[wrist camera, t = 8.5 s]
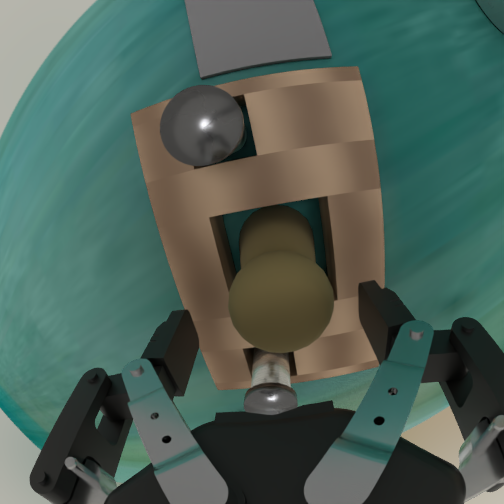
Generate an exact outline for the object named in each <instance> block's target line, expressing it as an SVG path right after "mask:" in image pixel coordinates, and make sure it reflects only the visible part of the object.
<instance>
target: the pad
mask: <svg viewBox="0 0 504 504" xmlns="http://www.w3.org/2000/svg"><path fill="white" fill-rule="evenodd" d="M185 4H186V9H187V14H188V19H189V24H190V29H191V34H192V39H193V44H194V49H195V54H196V59H197V63H198V68H199V73H200V78H201V79H205V78H209V77H213V76H217V75H221V74H225V73H229V72H233V71H238V70H243V69H248V68H253V67H258V66H264V65H270V64H277V63H284V62H292V61H301V60H311V59H324V58H331V56H332V54H331V51H330V48H329V44H328V41H327V38H326V35H325V32H324V29H323V26H322V23H321V20H320V17H319V14H318V12H317V9H316V6H315V4H314V1H313V0H185Z"/></svg>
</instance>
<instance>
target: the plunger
mask: <svg viewBox="0 0 504 504" xmlns="http://www.w3.org/2000/svg"><path fill="white" fill-rule="evenodd" d="M160 135H161V139H162V142H163V145H164V147H165V148H166V150H167V151H168V152H169V154H170V155H171V156H173V157H174V158H175V159H176V160H178V161H180V162H182V163H184V164H187V165H192V166H205V165H210V164H213V163H217V162H219V161H221V160H223V159H225V158H226V157H228V156H229V155H230V154H232V153H235V152H237V151H238V150H240V149H241V148H242V147H243V145H244V144H245V142H246V139H247V129H246V126H245V124H244V118H243V114H242V111H241V109H240V107H239V105H238V104H237V102H236V101H235V100H234V98H233V97H232V96H231V95H230V94H228V93H227V92H226V91H224V90H222V89H220V88H218V87H215V86H210V85H198V86H193V87H190V88H187V89H185V90H183V91H181V92H180V93H178V94H177V95H175V96H174V97H173V98H172V99H171V100H170V101H169V103H168V104H167V106H166V107H165V109H164V111H163V114H162V117H161V121H160Z"/></svg>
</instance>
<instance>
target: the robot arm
mask: <svg viewBox="0 0 504 504" xmlns="http://www.w3.org/2000/svg"><path fill="white" fill-rule="evenodd" d="M476 1H477V2H478V4H479V5H480V7H481V8H482V10H483V11H484V13H485V14H486V15H487V17H488V18H489V19H490V20H491V21H492V22H493V24H494V25H495V26H496V27H497V28H498V29H499V30H500V31H501V32H503V33H504V0H476ZM358 311H359V319H360V323H361V325H362V327H363V329H364V332H365V334H366V336H367V338H368V340H369V342H370V344H371V346H372V349H373V351H374V353H375V355H376V357H377V360H378V362H379V364H380V367H379V369H378V371H377V373H376V375H375V377H374V379H373V381H372V383H371V385H370V387H369V389H368V391H367V393H366V395H365V397H364V398H363V400H362V402H361V404H360V405H359V407H358V409H357V411H352V410H348V409H341V408H334V406H333V401H332V400H331V401H326V402H321V403H315V404H309V405H303V406H300V407H297V408H294V409H291V410H288V411H285V412H282V413H279V414H275V415H266V414H258V413H250V412H223V413H216V416H215V421H211V422H208V423H205V424H203V425H201V426H199V427H197V428H195V429H193V430H192V431H191V430H190V428H189V427H188V425H187V423H186V422H185V420H184V419H183V417H182V415H181V414H180V412H179V411H178V409H177V407H176V406H175V404H174V402H173V398H174V396H184V394H185V391H186V387H187V384H188V381H189V377H190V374H191V371H192V368H193V365H194V361H195V358H196V355H197V352H198V349H199V337H198V333H197V331H196V328H195V325H194V323H193V320H192V317H191V314H190V312H189V311H188V310H187V309H186V310H177V311H172V312H171V314H170V316H169V318H168V320H167V321H166V322H163V323H162V324H161V325H160V326H159V327H158V328H157V329H156V331H155V333H154V334H153V336H152V338H151V340H150V342H149V343H148V345H147V347H146V349H145V351H144V353H143V354H142V356H141V358H140V359H136V360H133V361H131V362H129V363H128V364H127V365H126V366H125V367H124V368H123V370H122V373H121V374H116V375H111V376H108V375H107V373H106V372H105V370H104V369H102V368H94V369H91V370H89V371H87V372H86V373H85V374H84V375H83V376H82V377H81V379H80V381H79V382H78V384H77V386H76V388H75V389H74V391H73V393H72V394H71V396H70V398H69V400H68V401H67V403H66V405H65V407H64V408H63V410H62V412H61V414H60V416H59V417H58V419H57V421H56V423H55V425H54V427H53V429H52V431H51V433H50V434H49V436H48V438H47V440H46V442H45V444H44V446H43V448H42V450H41V453H40V455H39V457H38V459H37V461H36V463H35V465H34V468H33V470H32V472H31V474H30V485H31V487H32V489H33V490H34V491H35V492H37V493H38V494H40V495H41V496H43V497H44V498H46V499H47V500H49V501H50V502H51V503H52V504H464V503H465V502H467V501H469V500H470V499H472V498H474V497H476V496H478V495H480V494H481V493H483V492H485V491H487V492H493V491H496V490H498V489H499V488H501V487H502V486H503V485H504V353H503V352H502V350H501V349H500V348H499V346H498V345H497V344H496V342H495V341H494V340H493V339H492V337H491V336H490V335H489V334H488V332H487V331H486V330H485V329H484V328H483V326H482V325H481V324H480V323H479V322H478V321H477V320H475V319H473V318H469V317H462V318H459V319H457V320H455V321H454V322H453V324H452V328H451V330H433V328H432V326H431V325H430V324H428V323H426V322H424V321H419V320H416V319H415V318H414V317H413V315H412V314H411V313H410V311H409V310H408V309H407V307H406V306H405V305H404V304H403V302H402V301H401V300H400V298H399V297H398V296H397V295H396V293H395V292H393V291H391V290H390V289H388V288H383V289H381V287H380V286H379V285H378V283H377V282H376V281H375V280H370V281H366V282H361V283H359V285H358ZM428 382H439V383H440V386H441V388H442V390H443V392H444V394H445V396H446V398H447V400H448V403H449V405H450V407H451V409H452V412H453V414H454V416H455V419H456V421H457V423H458V426H459V428H460V431H461V433H462V436H463V438H464V441H465V442H464V443H463V444H462V446H461V448H460V451H459V461H460V466H459V469H457V468H456V467H455V466H454V465H452V464H451V463H449V462H447V461H445V460H443V459H441V458H439V457H437V456H435V455H433V454H431V453H429V452H428V451H426V450H424V449H422V448H420V447H418V446H416V445H415V444H413V443H411V442H409V441H407V440H406V439H404V438H402V437H400V436H401V434H402V431H403V429H404V427H405V424H406V422H407V419H408V417H409V414H410V412H411V409H412V406H413V404H414V401H415V398H416V395H417V392H418V389H419V386H420V383H428ZM99 410H100V411H101V412H102V413H103V414H104V415H103V417H102V419H101V422H100V424H99V426H98V429H96V427H95V418H96V416H97V414H98V412H99ZM133 420H134V423H135V425H136V428H137V430H138V433H139V435H140V437H141V440H142V442H143V444H144V447H145V449H146V451H147V453H148V456H149V458H150V460H151V462H152V463H150V464H149V465H148V466H146V467H145V468H144V469H142V470H141V471H140V472H138V473H137V474H135V475H134V476H133V477H131V478H130V479H128V480H127V481H126V482H124V483H123V484H121V485H120V486H118V487H117V486H116V481H115V479H114V476H115V473H116V470H117V467H118V463H119V460H120V457H121V454H122V451H123V448H124V445H125V442H126V439H127V436H128V433H129V430H130V427H131V424H132V421H133Z"/></svg>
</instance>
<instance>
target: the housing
mask: <svg viewBox="0 0 504 504" xmlns="http://www.w3.org/2000/svg"><path fill="white" fill-rule="evenodd" d="M215 87H218V88H220V89H222V90H224V91H226V92H227V93H228V94H230V95H231V96H232V97H233V98H234V100H235V101H236V102H237V104H238V105H239V107H240V106H245V105H247V110H248V114H249V119H250V123H251V128H252V132H253V137H254V142H255V146H256V151H257V155H256V156H251V157H246V158H241V159H236V160H232V161H227V162H223V163H218V164H214V165H210V166H208V165H205V166H192V165H187V164H184V163H182V162H180V161H178V160H176V159H175V158H174V157H173V156H171V155H170V154H169V152H168V151H167V150H166V148H165V147H164V145H163V142H162V139H161V135H160V121H161V117H162V114H163V111H164V109H165V107H166V106H167V104H168V103H169V101H170V100H171V99H169V100H166V101H163V102H160V103H157V104H155V105H152V106H149V107H147V108H144V109H141V110H139V111H136V112H134V113H131V119H132V124H133V129H134V134H135V139H136V144H137V148H138V153H139V157H140V162H141V166H142V170H143V174H144V178H145V182H146V186H147V190H148V194H149V198H150V202H151V205H152V209H153V213H154V216H155V220H156V223H157V227H158V230H159V233H160V237H161V240H162V243H163V246H164V250H165V253H166V256H167V259H168V262H169V265H170V268H171V271H172V274H173V277H174V280H175V283H176V286H177V289H178V292H179V295H180V297H181V300H182V303H183V306H184V308H185V310H186V309H187V310H188V311H189V312H190V314H191V317H192V320H193V323H194V325H195V328H196V331H197V333H198V337H199V347H200V350H201V352H202V354H203V357H204V359H205V362H206V364H207V366H208V369H209V371H210V373H211V375H212V378H213V380H214V382H215V384H216V387H217V389H218V390H228V389H244V388H251V382H252V370H253V357H254V348H253V347H254V346H253V345H251V344H250V343H248V342H247V341H246V340H244V339H243V338H242V337H241V335H240V334H239V333H238V331H237V330H236V329H235V328H234V326H233V323H232V320H231V317H230V314H229V309H228V300H229V291H230V288H231V285H232V283H233V281H234V279H235V277H236V275H237V274H236V270H235V266H234V262H233V258H232V254H231V250H230V246H229V242H228V238H227V234H226V230H225V226H224V221H223V217H222V215H223V214H228V213H233V212H238V211H243V210H249V209H254V208H259V207H265V206H270V205H276V204H281V203H287V202H293V201H299V200H305V199H311V198H317V197H318V200H319V207H320V214H321V221H322V229H323V237H324V245H325V254H326V263H327V273H328V276H327V278H328V280H329V282H330V284H331V286H332V289H333V298H334V310H333V313H332V317H331V320H330V323H329V324H328V326H327V327H326V329H325V330H324V332H323V333H322V334H321V336H320V337H319V338H318V339H316V340H315V341H314V342H313V343H311V344H310V345H309V346H307V347H304V348H302V349H300V350H297V351H293V352H288V354H289V368H290V383H299V382H305V381H312V380H318V379H323V378H329V377H334V376H339V375H344V374H349V373H353V372H358V371H362V370H366V369H370V368H374V367H378V366H379V362H378V360H377V357H376V355H375V353H374V351H373V349H372V346H371V344H370V342H369V340H368V338H367V336H366V334H365V332H364V329H363V327H362V325H361V323H360V319H359V311H358V285H359V283H361V282H366V281H370V280H375V281H376V282H377V283H378V285H379V286H380V287H381V289H383V288H384V282H385V254H384V226H383V210H382V198H381V187H380V178H379V170H378V162H377V155H376V148H375V142H374V136H373V130H372V125H371V120H370V114H369V110H368V105H367V100H366V96H365V92H364V88H363V84H362V80H361V76H360V72H359V68H358V67H332V68H318V69H307V70H298V71H290V72H282V73H276V74H269V75H263V76H258V77H252V78H247V79H242V80H238V81H233V82H229V83H225V84H220V85H216V86H215Z"/></svg>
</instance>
